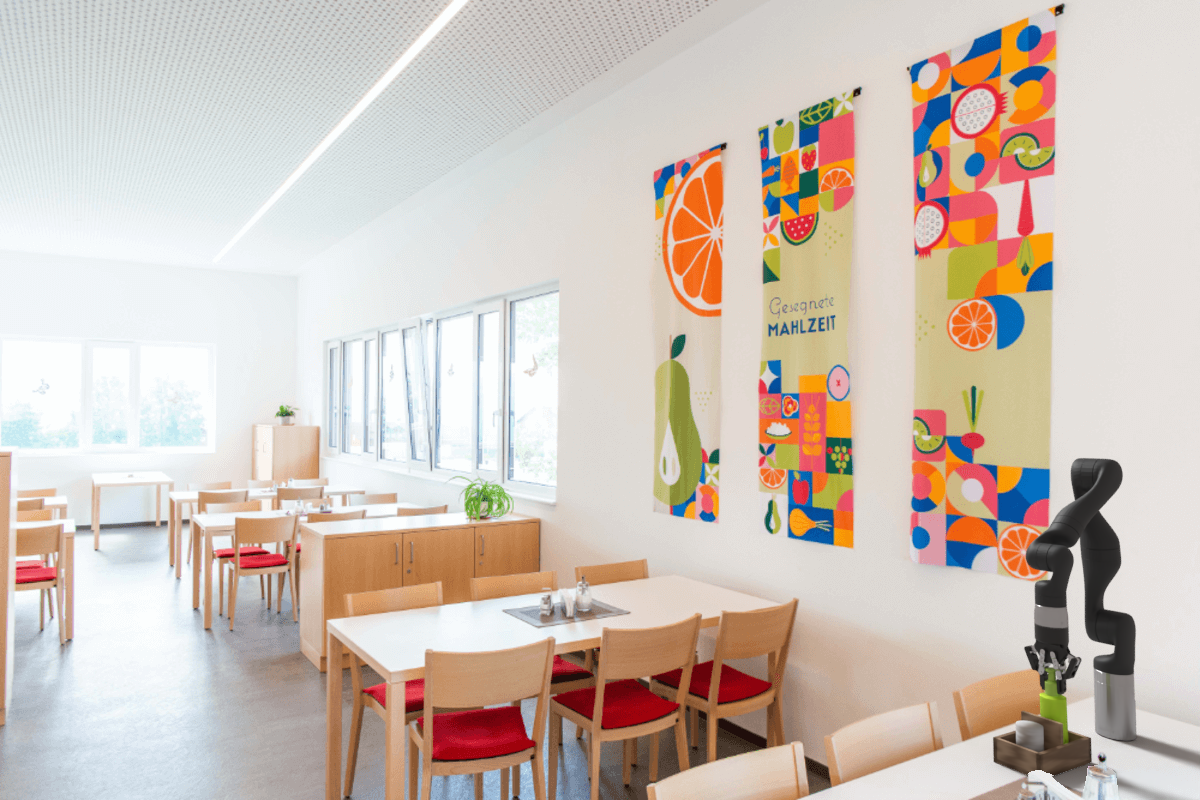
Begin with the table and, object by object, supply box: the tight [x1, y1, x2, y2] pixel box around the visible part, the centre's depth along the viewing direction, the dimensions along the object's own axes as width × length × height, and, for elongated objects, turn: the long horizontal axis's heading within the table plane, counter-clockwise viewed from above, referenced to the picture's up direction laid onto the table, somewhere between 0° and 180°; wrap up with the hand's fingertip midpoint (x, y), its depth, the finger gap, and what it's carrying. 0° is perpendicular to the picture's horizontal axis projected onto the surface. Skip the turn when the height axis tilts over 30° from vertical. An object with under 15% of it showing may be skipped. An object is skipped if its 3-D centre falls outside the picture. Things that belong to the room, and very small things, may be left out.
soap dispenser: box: [1039, 666, 1069, 744], centre depth 194 cm, size 6×7×20 cm
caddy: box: [992, 710, 1093, 777], centre depth 191 cm, size 12×21×11 cm, turn 119°
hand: (1053, 691), depth 194 cm, fingers closed on soap dispenser, 3 cm apart
